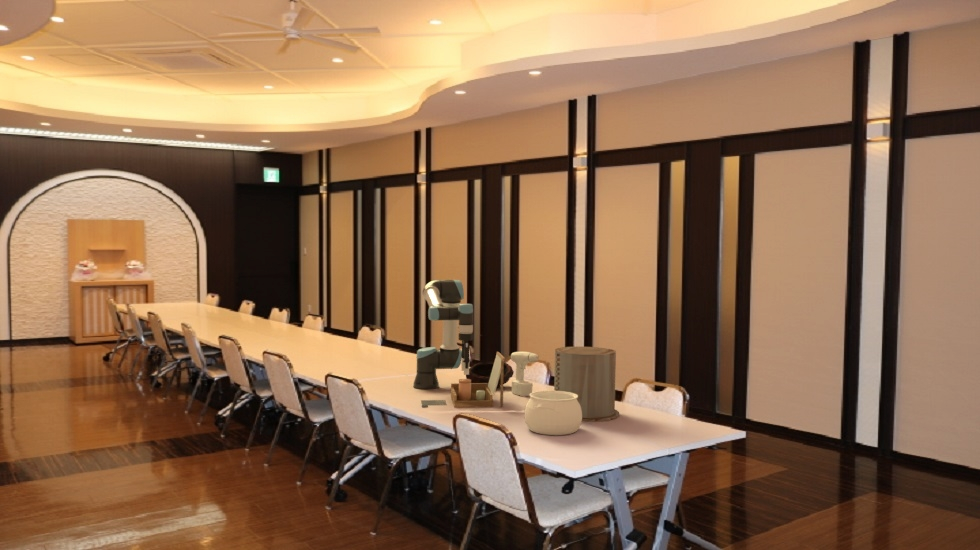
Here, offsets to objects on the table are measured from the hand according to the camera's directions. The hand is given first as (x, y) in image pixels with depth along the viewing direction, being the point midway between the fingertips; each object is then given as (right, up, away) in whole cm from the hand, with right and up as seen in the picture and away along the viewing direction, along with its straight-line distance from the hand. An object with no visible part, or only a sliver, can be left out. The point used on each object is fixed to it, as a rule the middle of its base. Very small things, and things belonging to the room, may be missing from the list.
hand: (465, 372), depth 396 cm
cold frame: (+6, -17, +1) cm, 18 cm away
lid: (+16, 0, +2) cm, 16 cm away
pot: (+42, -20, -53) cm, 71 cm away
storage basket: (+61, -19, -19) cm, 67 cm away
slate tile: (-17, -17, -1) cm, 24 cm away
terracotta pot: (0, -16, +1) cm, 16 cm away
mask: (+13, -16, +51) cm, 55 cm away
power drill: (+33, -17, +28) cm, 47 cm away
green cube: (+8, -16, +2) cm, 18 cm away
